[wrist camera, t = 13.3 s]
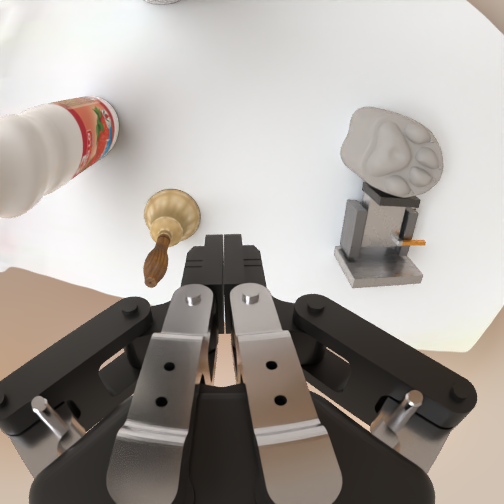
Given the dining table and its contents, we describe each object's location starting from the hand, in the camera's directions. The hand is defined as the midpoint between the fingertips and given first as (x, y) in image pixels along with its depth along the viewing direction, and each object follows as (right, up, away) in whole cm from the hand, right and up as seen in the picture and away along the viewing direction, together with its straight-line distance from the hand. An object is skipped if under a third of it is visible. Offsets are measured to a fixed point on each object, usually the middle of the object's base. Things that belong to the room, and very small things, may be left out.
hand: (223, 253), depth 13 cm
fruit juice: (-21, +17, +22) cm, 35 cm away
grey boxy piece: (+23, +6, +31) cm, 39 cm away
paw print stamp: (+20, +15, +27) cm, 37 cm away
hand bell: (-10, +5, +30) cm, 32 cm away
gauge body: (+21, +4, +33) cm, 40 cm away
